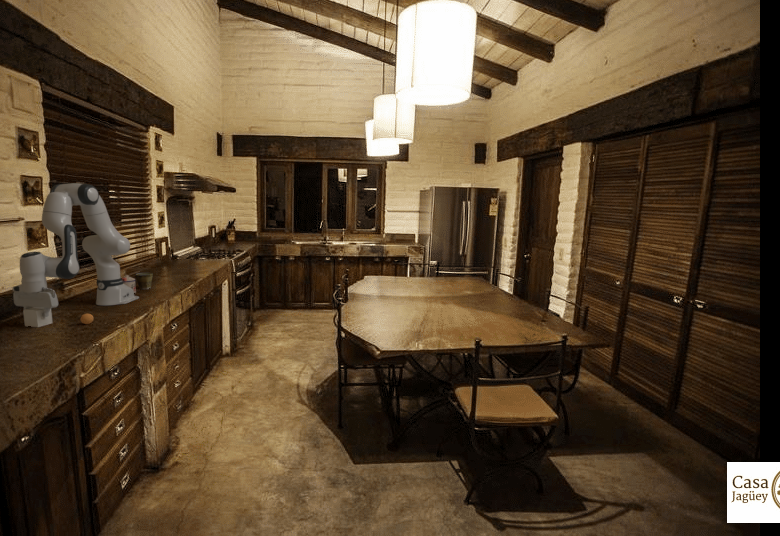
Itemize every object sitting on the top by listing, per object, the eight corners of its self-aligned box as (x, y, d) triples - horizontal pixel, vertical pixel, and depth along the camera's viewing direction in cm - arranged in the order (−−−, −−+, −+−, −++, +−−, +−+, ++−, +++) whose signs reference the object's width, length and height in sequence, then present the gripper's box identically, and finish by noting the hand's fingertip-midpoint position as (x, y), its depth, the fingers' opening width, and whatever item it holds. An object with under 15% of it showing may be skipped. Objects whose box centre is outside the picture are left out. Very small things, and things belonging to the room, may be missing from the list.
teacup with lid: (133, 294, 257) (131, 276, 255) (117, 295, 255) (115, 276, 254) (140, 290, 269) (139, 273, 267) (124, 291, 267) (123, 273, 265)
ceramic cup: (157, 287, 280) (156, 273, 278) (144, 290, 270) (143, 275, 269) (142, 286, 284) (141, 271, 282) (129, 288, 274) (128, 274, 273)
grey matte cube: (39, 322, 197) (38, 306, 196) (52, 323, 196) (50, 307, 195) (25, 326, 190) (23, 309, 189) (38, 327, 189) (36, 310, 188)
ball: (87, 322, 199) (86, 312, 198) (96, 322, 198) (95, 312, 197) (78, 325, 194) (77, 314, 193) (87, 325, 193) (86, 315, 192)
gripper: (60, 287, 192) (63, 315, 194) (23, 284, 195) (26, 313, 197) (47, 289, 186) (50, 319, 188) (9, 287, 188) (12, 316, 190)
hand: (37, 316), depth 192 cm, fingers closed on grey matte cube, 7 cm apart
